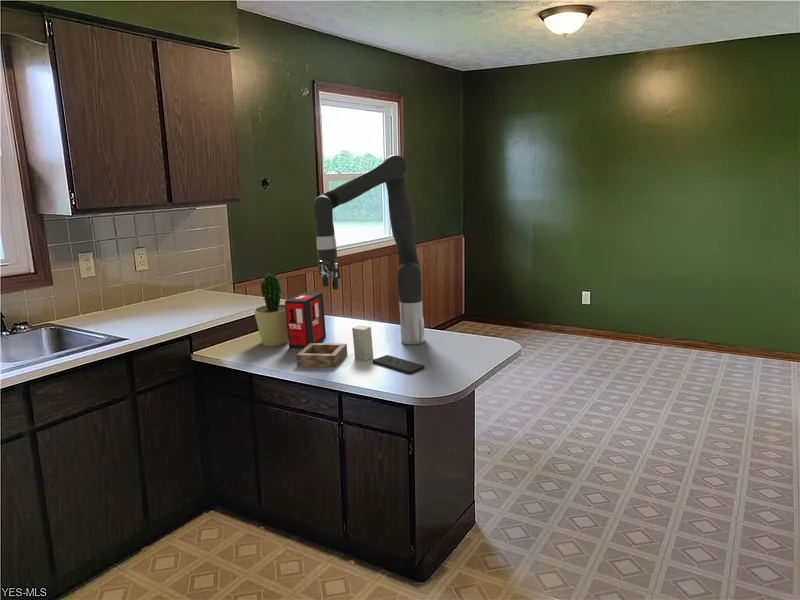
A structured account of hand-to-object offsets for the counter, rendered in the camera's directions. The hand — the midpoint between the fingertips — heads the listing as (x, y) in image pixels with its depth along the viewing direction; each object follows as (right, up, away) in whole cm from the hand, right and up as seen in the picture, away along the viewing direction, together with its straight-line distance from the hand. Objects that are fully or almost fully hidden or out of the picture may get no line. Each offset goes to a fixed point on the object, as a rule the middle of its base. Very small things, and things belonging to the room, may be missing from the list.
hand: (330, 287), depth 240 cm
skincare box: (+14, -27, -8) cm, 32 cm away
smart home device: (+27, -29, -19) cm, 44 cm away
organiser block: (-2, -28, -9) cm, 29 cm away
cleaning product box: (-11, -23, +15) cm, 30 cm away
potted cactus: (-26, -23, +19) cm, 39 cm away
